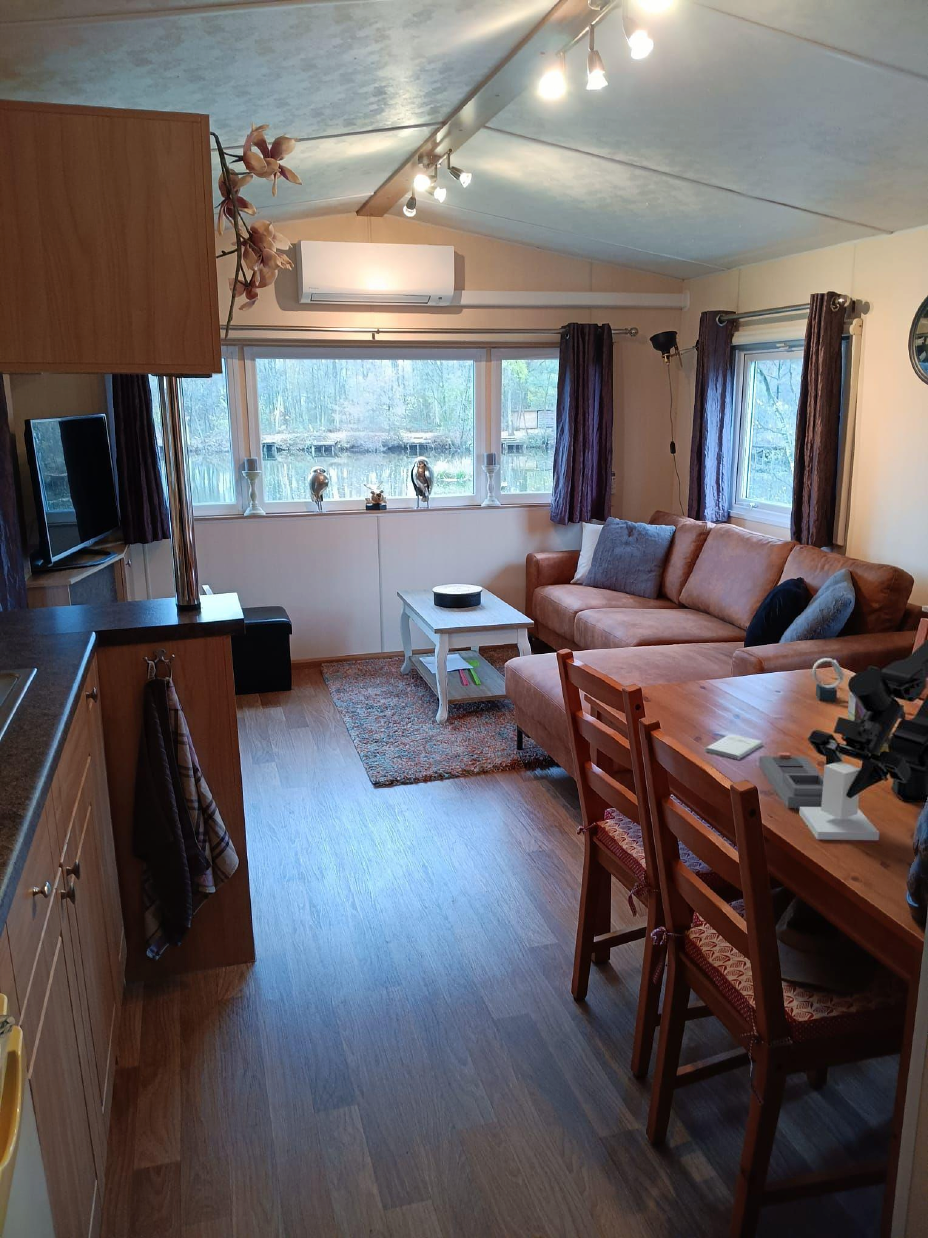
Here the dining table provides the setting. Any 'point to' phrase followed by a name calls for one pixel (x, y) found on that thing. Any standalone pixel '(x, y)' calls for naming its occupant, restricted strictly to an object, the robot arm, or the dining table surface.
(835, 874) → the dining table surface
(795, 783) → the power strip
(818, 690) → the watch
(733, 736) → the external hard drive
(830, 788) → the plug
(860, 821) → the flat white rectangular slab
